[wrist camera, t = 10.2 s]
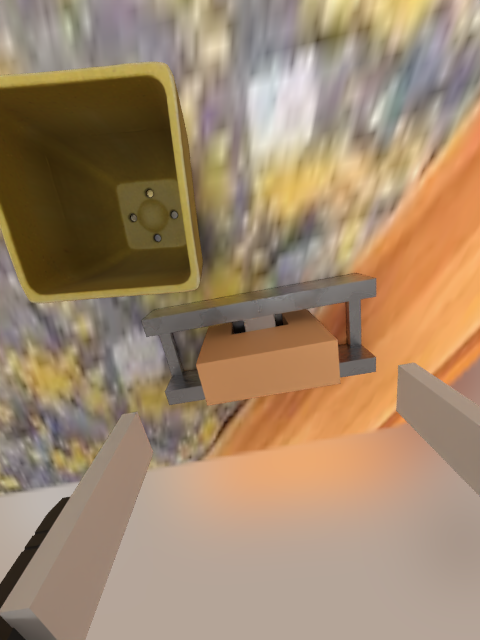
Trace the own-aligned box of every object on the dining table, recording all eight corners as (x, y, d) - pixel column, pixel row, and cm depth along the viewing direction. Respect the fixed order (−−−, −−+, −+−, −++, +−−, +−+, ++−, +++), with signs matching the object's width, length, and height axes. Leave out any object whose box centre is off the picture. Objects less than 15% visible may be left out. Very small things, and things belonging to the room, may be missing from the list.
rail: (177, 385, 23) (169, 405, 21) (154, 309, 21) (140, 320, 18) (358, 355, 23) (375, 371, 20) (356, 272, 20) (376, 278, 17)
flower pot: (216, 270, 20) (201, 292, 11) (114, 278, 20) (24, 305, 12) (203, 148, 17) (170, 57, 9) (85, 158, 17) (-62, 77, 9)
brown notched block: (216, 357, 23) (207, 405, 16) (208, 326, 22) (195, 364, 15) (309, 340, 22) (340, 383, 15) (306, 308, 21) (337, 339, 14)
